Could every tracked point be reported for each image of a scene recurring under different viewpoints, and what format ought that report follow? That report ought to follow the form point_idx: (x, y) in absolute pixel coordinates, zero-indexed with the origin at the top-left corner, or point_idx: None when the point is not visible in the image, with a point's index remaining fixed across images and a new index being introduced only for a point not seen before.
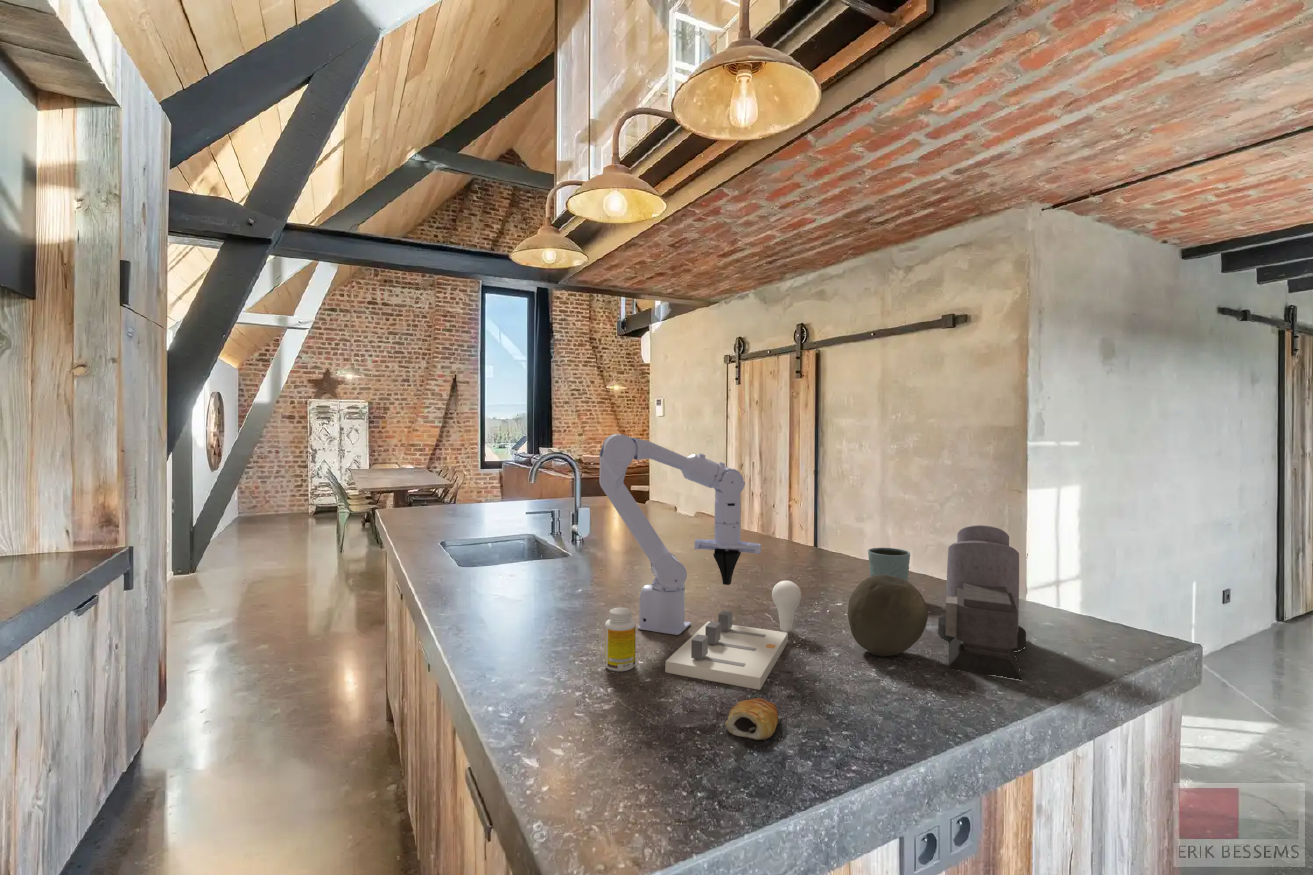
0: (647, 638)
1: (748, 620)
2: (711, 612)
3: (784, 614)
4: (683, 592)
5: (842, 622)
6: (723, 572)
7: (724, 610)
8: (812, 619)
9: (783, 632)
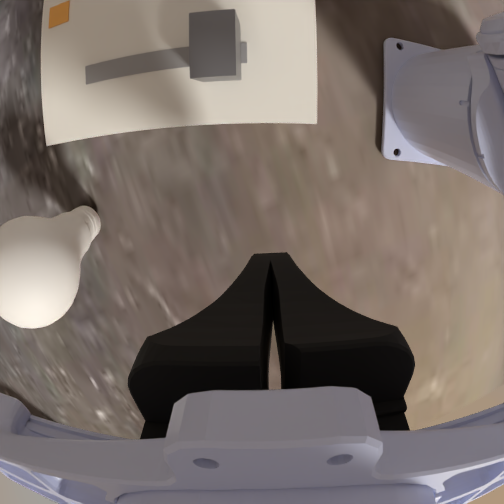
0: (448, 7)
1: (217, 270)
2: (344, 293)
3: (55, 217)
4: (458, 100)
5: (41, 329)
6: (286, 279)
7: (227, 73)
8: (87, 330)
9: (55, 140)
